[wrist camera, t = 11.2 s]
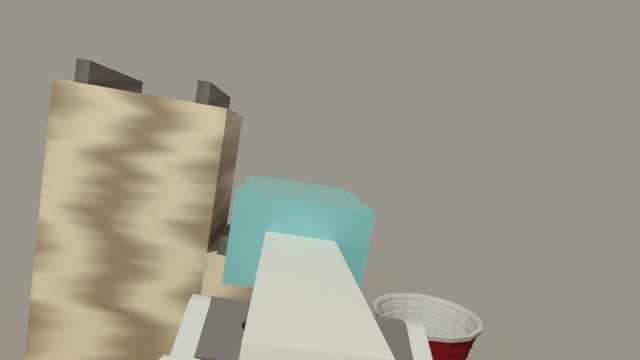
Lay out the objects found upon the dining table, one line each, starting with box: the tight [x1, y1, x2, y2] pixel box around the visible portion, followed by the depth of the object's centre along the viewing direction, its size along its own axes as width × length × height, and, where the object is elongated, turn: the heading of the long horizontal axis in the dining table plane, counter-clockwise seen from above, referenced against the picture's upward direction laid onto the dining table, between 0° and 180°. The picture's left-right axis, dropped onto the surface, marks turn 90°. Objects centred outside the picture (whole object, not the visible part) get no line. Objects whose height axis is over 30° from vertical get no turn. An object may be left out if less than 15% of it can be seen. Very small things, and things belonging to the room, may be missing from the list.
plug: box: [222, 175, 395, 360], centre depth 16 cm, size 6×17×4 cm, turn 5°
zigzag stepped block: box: [25, 58, 254, 360], centre depth 31 cm, size 22×9×30 cm, turn 95°
